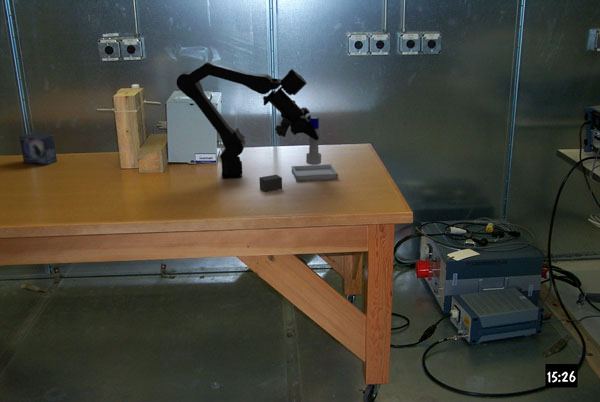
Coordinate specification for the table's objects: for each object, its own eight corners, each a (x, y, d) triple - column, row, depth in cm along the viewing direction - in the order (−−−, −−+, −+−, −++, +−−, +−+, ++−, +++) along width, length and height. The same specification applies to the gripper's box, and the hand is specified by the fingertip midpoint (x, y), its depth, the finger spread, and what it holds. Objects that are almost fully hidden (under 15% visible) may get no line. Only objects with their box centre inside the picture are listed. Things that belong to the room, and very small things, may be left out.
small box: (22, 164, 232) (18, 136, 228) (34, 159, 238) (30, 132, 234) (46, 166, 229) (42, 138, 226) (57, 161, 235) (54, 134, 231)
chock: (265, 192, 197) (264, 180, 196) (259, 189, 200) (259, 177, 199) (282, 189, 200) (281, 177, 199) (276, 186, 203) (276, 174, 202)
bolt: (322, 164, 210) (307, 165, 209) (319, 161, 214) (305, 161, 214) (322, 118, 205) (307, 119, 204) (320, 116, 209) (305, 116, 209)
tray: (296, 181, 207) (296, 176, 206) (291, 171, 218) (291, 166, 217) (337, 179, 209) (337, 173, 208) (331, 169, 220) (331, 164, 219)
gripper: (270, 116, 217) (301, 147, 220) (265, 128, 199) (299, 162, 202) (293, 93, 214) (324, 126, 217) (290, 103, 196) (324, 138, 199)
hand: (317, 138), depth 209 cm, fingers closed on bolt, 3 cm apart
